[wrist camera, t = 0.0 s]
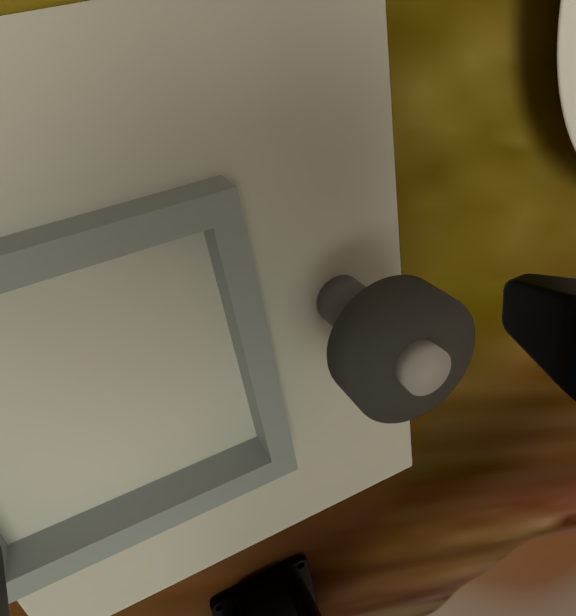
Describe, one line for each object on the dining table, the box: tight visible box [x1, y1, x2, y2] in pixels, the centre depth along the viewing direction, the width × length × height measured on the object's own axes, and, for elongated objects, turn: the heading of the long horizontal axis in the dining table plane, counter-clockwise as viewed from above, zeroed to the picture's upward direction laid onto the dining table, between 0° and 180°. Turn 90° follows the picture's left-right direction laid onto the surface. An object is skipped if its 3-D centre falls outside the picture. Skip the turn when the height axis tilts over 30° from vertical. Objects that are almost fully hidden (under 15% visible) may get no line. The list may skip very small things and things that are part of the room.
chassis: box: [0, 0, 412, 616], centre depth 23 cm, size 27×22×3 cm
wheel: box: [327, 275, 475, 424], centre depth 21 cm, size 6×6×3 cm
